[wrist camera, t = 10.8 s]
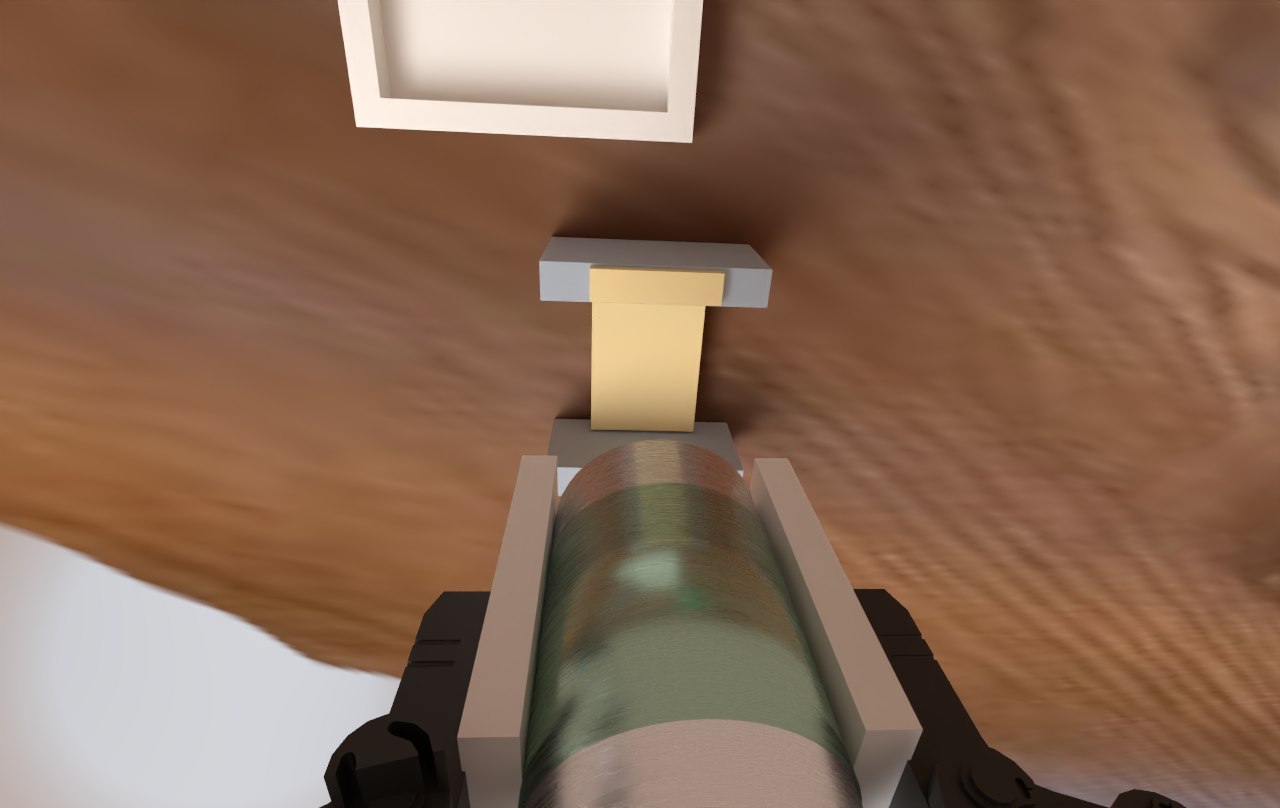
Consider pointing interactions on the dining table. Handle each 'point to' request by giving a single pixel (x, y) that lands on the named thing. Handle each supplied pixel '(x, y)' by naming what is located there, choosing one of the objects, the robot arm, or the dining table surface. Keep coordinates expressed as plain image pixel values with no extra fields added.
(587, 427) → the cradle
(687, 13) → the tray
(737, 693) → the cell
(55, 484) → the dining table surface
